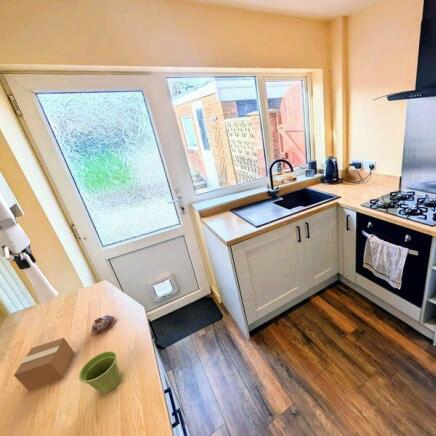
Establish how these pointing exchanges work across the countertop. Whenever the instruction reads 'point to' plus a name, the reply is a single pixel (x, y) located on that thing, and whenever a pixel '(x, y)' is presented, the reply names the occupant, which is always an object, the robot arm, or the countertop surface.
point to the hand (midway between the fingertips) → (28, 265)
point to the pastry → (102, 324)
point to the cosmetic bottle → (39, 282)
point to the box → (45, 364)
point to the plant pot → (101, 372)
